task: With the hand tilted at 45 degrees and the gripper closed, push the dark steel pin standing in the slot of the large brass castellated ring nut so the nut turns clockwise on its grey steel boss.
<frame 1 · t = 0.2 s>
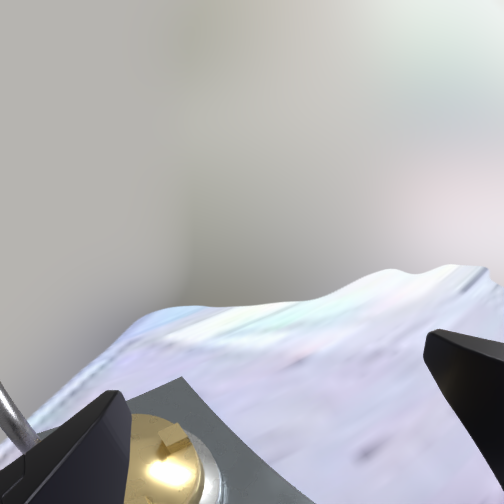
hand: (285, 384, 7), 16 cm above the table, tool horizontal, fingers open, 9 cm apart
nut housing: (142, 490, 17), on the table
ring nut: (94, 433, 14), point 8 cm above the table, hinge at 0.0°
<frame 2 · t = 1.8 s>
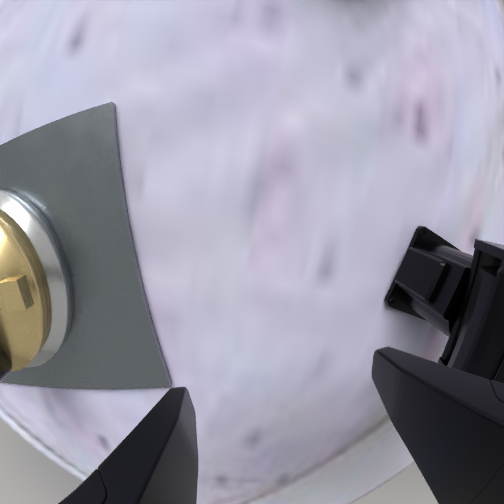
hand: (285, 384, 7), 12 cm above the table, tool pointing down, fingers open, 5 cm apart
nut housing: (7, 277, 17), on the table
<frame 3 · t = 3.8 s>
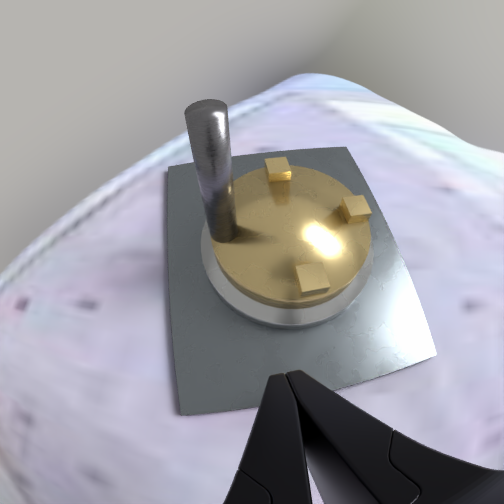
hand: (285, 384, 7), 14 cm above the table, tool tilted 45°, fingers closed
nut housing: (287, 250, 25), on the table
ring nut: (298, 183, 18), point 8 cm above the table, hinge at 0.0°
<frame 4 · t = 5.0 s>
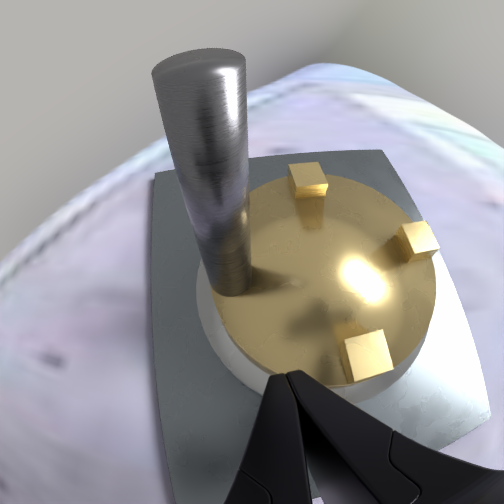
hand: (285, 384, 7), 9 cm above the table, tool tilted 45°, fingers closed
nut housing: (317, 294, 18), on the table
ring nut: (354, 208, 11), point 8 cm above the table, hinge at 0.0°
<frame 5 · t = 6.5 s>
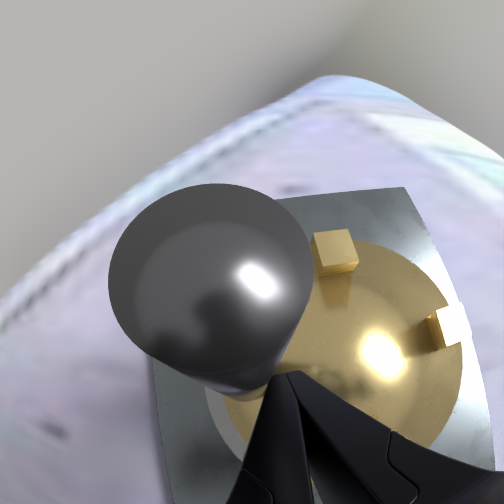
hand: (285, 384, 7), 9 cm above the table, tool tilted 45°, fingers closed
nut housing: (334, 370, 15), on the table
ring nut: (397, 331, 8), point 8 cm above the table, hinge at -1.4°, touching gripper
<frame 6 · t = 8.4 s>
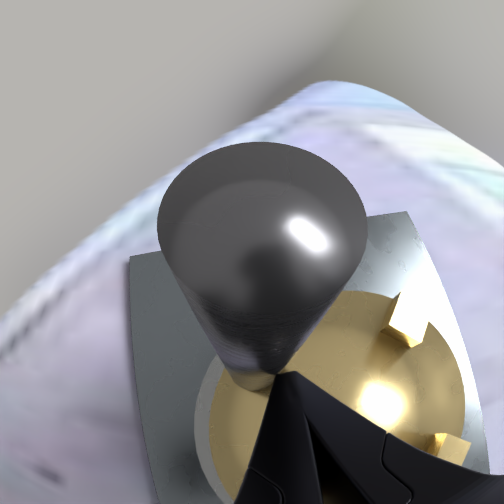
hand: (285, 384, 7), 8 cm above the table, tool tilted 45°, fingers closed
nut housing: (331, 419, 14), on the table
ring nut: (401, 423, 7), point 8 cm above the table, hinge at -43.5°, touching gripper
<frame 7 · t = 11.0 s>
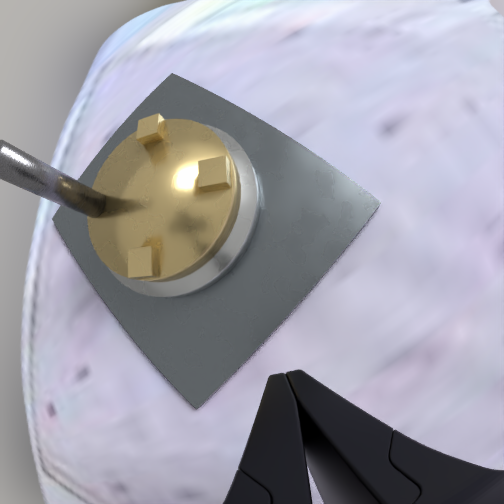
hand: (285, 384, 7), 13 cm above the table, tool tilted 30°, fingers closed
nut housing: (176, 209, 23), on the table
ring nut: (115, 169, 15), point 8 cm above the table, hinge at -43.5°
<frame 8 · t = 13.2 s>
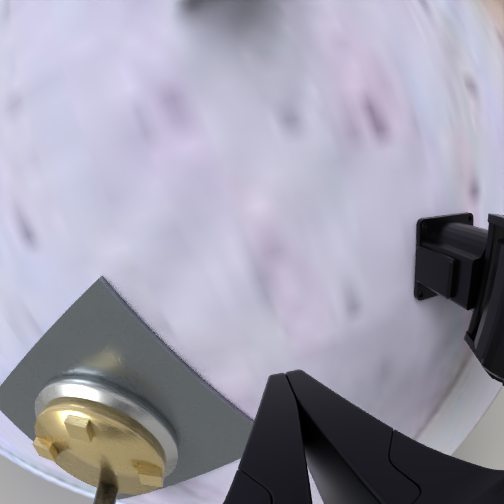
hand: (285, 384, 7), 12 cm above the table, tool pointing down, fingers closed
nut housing: (106, 428, 21), on the table
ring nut: (85, 495, 13), point 8 cm above the table, hinge at -43.5°
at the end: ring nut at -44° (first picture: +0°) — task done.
